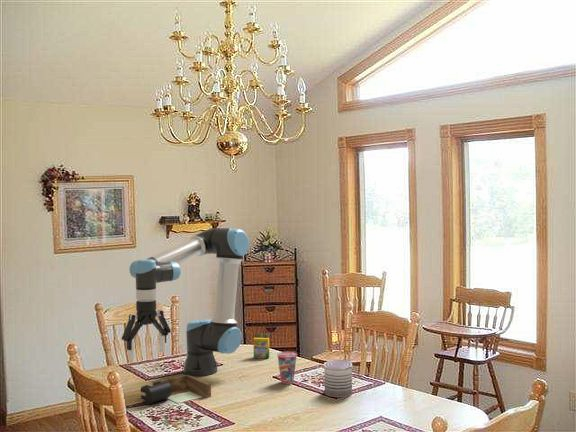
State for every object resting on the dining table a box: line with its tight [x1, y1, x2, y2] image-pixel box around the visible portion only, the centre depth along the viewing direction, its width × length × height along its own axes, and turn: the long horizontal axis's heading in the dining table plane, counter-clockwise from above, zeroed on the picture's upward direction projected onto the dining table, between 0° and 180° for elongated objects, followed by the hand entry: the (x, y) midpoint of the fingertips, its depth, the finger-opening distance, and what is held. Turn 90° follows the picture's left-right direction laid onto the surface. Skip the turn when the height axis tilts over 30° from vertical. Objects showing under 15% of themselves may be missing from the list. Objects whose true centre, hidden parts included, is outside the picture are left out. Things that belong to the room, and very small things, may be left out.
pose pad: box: [166, 391, 202, 404], centre depth 252 cm, size 11×9×1 cm
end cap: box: [140, 381, 173, 406], centre depth 247 cm, size 10×7×7 cm
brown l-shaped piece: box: [152, 374, 212, 398], centre depth 254 cm, size 16×18×5 cm
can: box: [323, 359, 353, 398], centre depth 255 cm, size 11×11×12 cm
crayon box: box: [253, 333, 270, 360], centre depth 311 cm, size 7×3×12 cm, turn 80°
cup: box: [277, 351, 298, 385], centre depth 270 cm, size 9×8×12 cm
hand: (147, 355), depth 246 cm, fingers open, 13 cm apart
